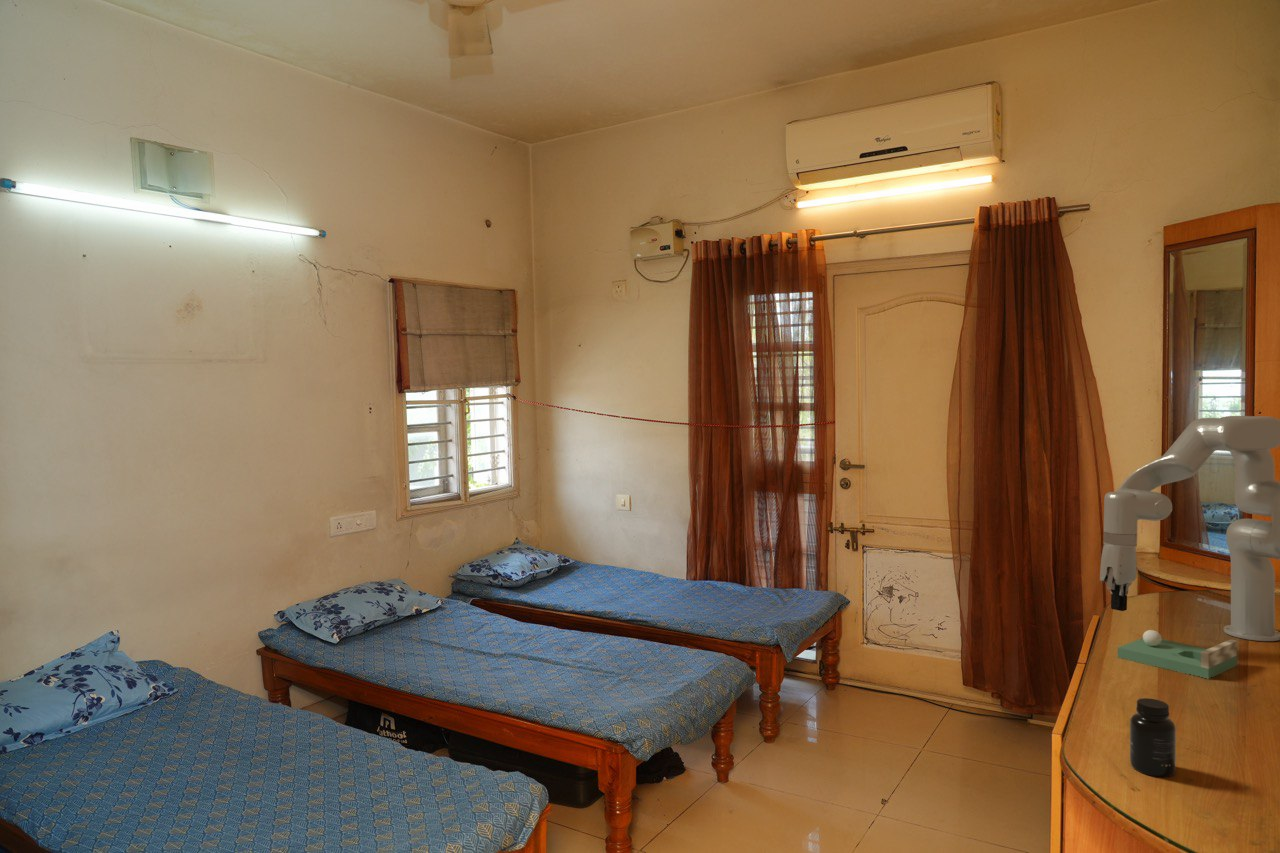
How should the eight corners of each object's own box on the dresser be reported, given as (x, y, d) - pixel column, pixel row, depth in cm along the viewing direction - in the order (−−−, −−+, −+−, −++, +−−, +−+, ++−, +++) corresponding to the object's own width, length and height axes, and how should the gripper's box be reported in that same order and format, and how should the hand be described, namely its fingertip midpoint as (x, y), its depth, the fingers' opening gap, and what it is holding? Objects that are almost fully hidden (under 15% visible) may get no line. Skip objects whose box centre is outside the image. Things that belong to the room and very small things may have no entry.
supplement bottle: (1121, 761, 146) (1121, 696, 145) (1156, 759, 146) (1156, 694, 146) (1148, 779, 139) (1148, 711, 138) (1185, 777, 139) (1185, 709, 139)
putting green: (1148, 645, 211) (1148, 635, 211) (1237, 665, 195) (1237, 655, 195) (1117, 657, 202) (1117, 647, 202) (1208, 679, 186) (1208, 668, 186)
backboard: (1230, 653, 196) (1230, 639, 196) (1237, 655, 195) (1237, 640, 195) (1201, 666, 187) (1201, 652, 187) (1208, 668, 186) (1208, 653, 186)
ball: (1147, 642, 206) (1147, 627, 206) (1164, 646, 203) (1164, 630, 202) (1139, 645, 204) (1139, 629, 204) (1157, 649, 200) (1157, 633, 200)
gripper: (1119, 535, 216) (1118, 602, 216) (1090, 540, 207) (1089, 610, 208) (1149, 539, 209) (1148, 608, 210) (1121, 544, 201) (1119, 617, 202)
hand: (1118, 609), depth 209 cm, fingers closed
